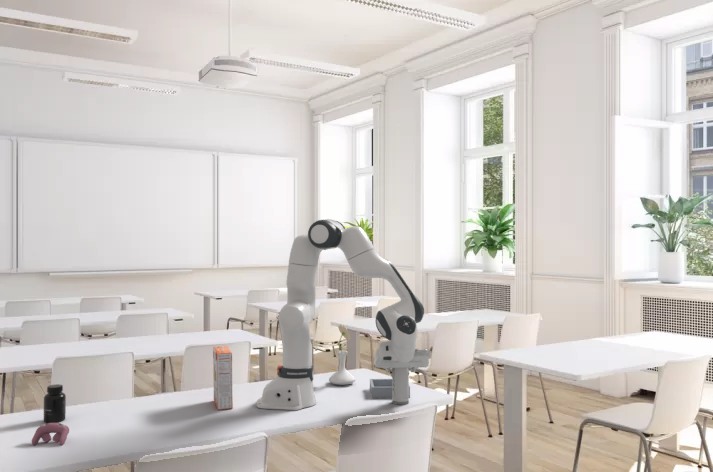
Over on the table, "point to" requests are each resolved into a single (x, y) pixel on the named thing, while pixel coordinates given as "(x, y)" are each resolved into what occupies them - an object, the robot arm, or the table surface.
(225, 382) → the cracker box
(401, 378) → the travel mug
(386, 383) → the tray
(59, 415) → the supplement bottle
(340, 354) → the flower in vase
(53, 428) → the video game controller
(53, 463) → the table surface
